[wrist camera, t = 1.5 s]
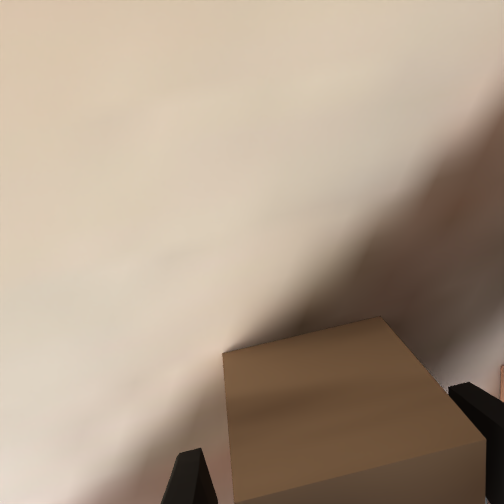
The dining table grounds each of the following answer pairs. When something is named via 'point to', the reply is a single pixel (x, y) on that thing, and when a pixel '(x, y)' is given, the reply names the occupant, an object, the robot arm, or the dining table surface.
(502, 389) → the coaster
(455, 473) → the brown cube
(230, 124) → the dining table surface
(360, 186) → the dining table surface
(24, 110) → the dining table surface
